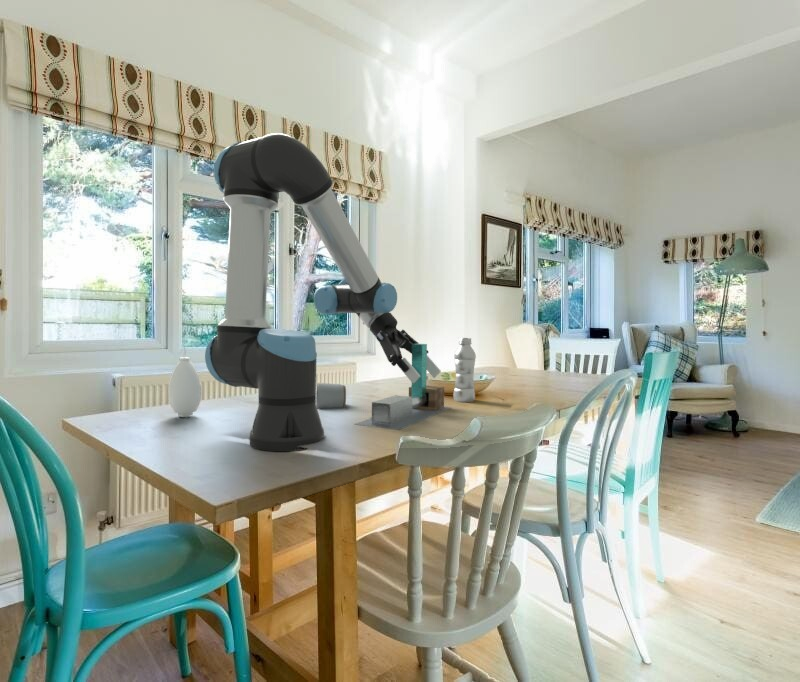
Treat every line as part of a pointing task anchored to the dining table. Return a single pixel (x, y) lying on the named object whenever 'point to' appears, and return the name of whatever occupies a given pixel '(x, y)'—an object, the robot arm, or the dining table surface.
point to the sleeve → (391, 410)
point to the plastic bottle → (464, 371)
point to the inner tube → (420, 366)
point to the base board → (416, 417)
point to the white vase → (184, 388)
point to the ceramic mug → (330, 395)
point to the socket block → (432, 398)
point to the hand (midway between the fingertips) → (427, 377)
